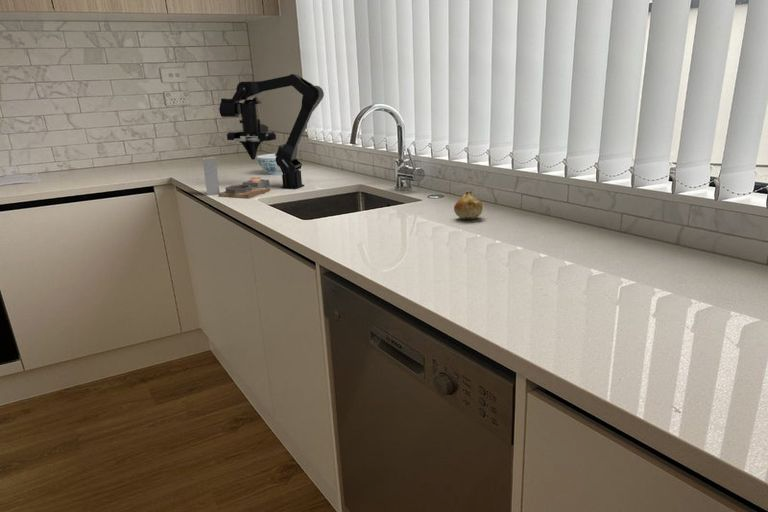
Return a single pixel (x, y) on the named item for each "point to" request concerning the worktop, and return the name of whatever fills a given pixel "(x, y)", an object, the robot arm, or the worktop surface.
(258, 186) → the button housing
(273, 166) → the chinaware
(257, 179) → the button
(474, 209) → the onion
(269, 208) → the worktop surface
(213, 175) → the billet
